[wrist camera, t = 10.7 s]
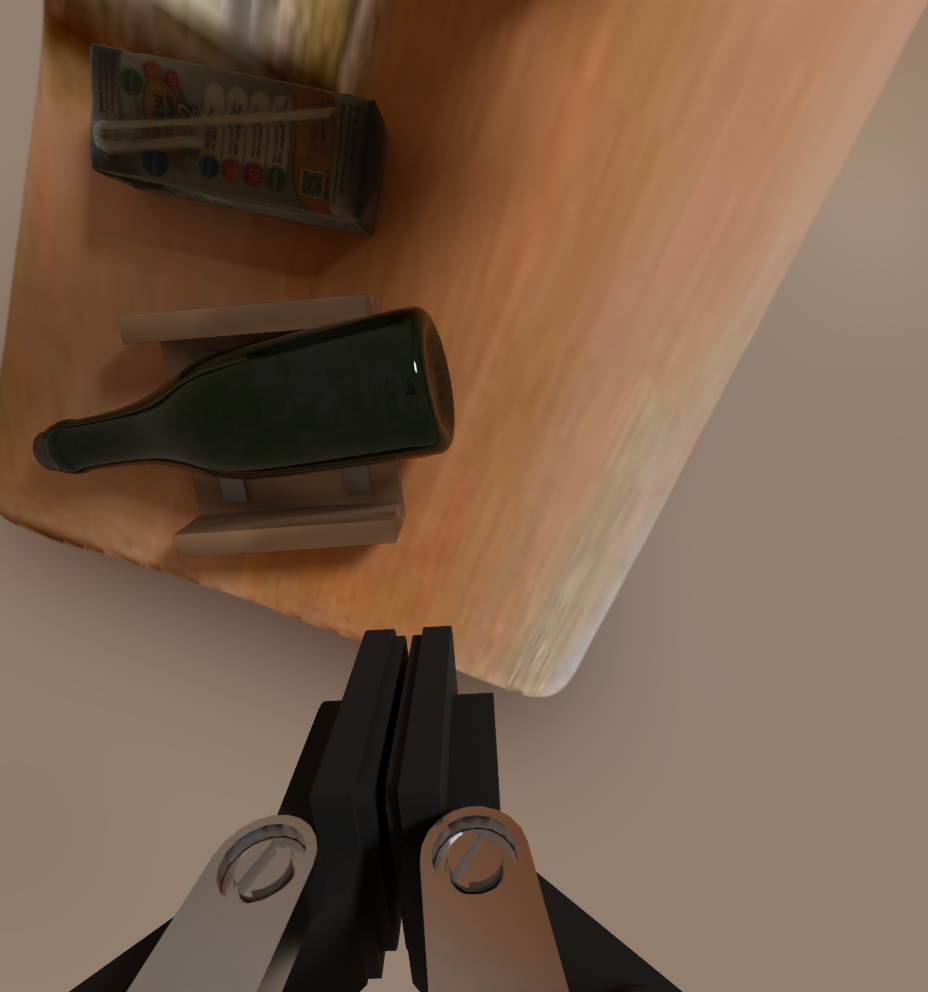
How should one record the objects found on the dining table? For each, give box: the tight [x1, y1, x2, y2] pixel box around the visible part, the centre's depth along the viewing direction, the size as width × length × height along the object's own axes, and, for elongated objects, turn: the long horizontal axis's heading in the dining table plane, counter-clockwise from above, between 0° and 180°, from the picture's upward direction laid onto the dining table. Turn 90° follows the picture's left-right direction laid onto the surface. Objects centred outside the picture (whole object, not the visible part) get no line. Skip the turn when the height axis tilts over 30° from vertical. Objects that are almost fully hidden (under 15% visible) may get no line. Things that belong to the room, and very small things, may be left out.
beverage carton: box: [90, 43, 388, 236], centre depth 40 cm, size 8×19×7 cm, turn 79°
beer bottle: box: [33, 306, 455, 480], centre depth 42 cm, size 10×10×33 cm
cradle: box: [117, 294, 405, 558], centre depth 45 cm, size 19×18×6 cm
